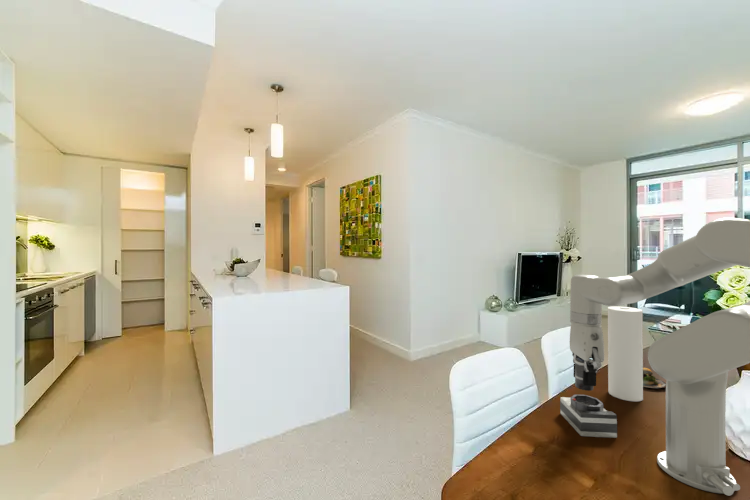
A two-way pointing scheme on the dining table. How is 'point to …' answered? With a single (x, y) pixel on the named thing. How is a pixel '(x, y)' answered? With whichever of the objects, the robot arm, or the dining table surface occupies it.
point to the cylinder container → (625, 353)
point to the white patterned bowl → (651, 380)
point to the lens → (580, 374)
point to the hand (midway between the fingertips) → (584, 380)
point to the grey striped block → (588, 416)
